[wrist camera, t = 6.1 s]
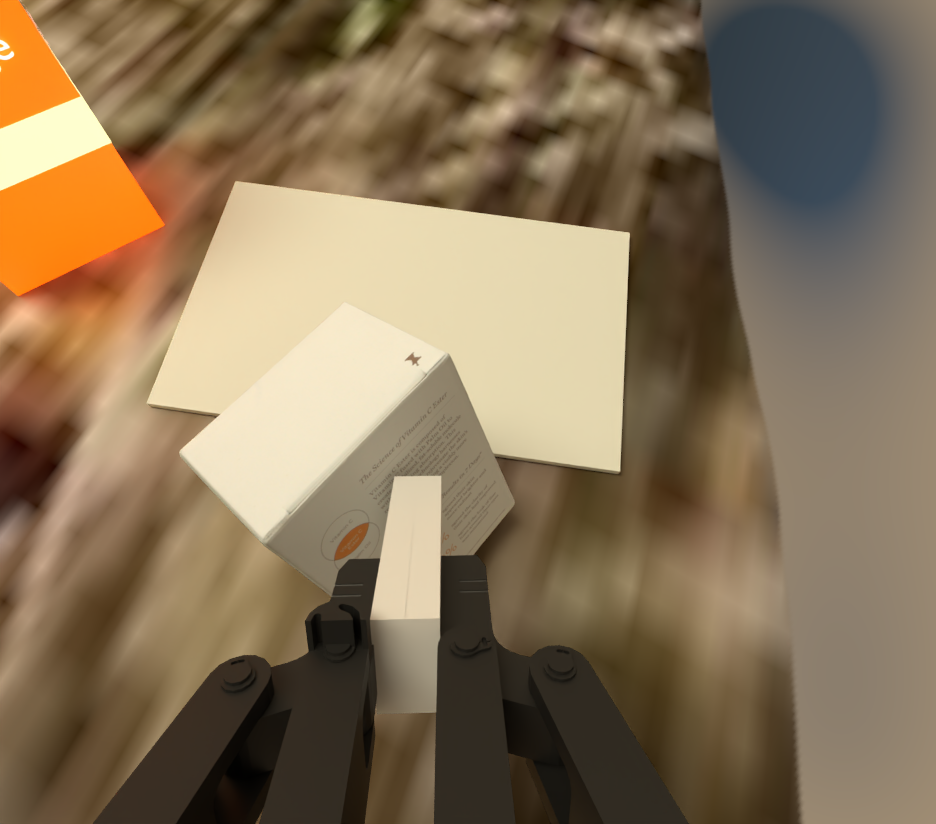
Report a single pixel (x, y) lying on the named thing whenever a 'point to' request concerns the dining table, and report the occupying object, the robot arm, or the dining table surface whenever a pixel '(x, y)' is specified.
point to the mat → (419, 310)
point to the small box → (350, 447)
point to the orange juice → (55, 167)
